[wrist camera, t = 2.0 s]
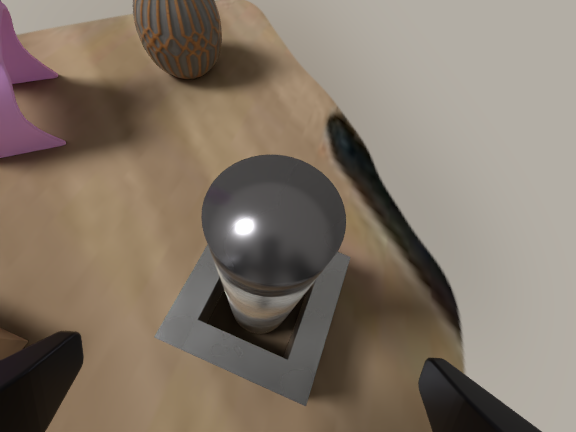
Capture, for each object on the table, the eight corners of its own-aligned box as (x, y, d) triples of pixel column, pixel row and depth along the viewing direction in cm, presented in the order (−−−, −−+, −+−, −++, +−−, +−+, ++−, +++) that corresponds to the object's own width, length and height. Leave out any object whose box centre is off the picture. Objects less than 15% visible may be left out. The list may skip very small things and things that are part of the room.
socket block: (296, 398, 16) (305, 406, 13) (169, 341, 17) (154, 337, 14) (337, 271, 20) (350, 257, 17) (232, 227, 20) (229, 207, 18)
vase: (145, 88, 25) (99, -32, 18) (155, 41, 29) (119, -79, 21) (224, 91, 26) (213, -21, 19) (225, 45, 30) (216, -67, 22)
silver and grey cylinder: (275, 343, 17) (320, 309, 6) (221, 319, 17) (171, 245, 6) (296, 288, 19) (361, 183, 8) (246, 267, 19) (241, 137, 8)
